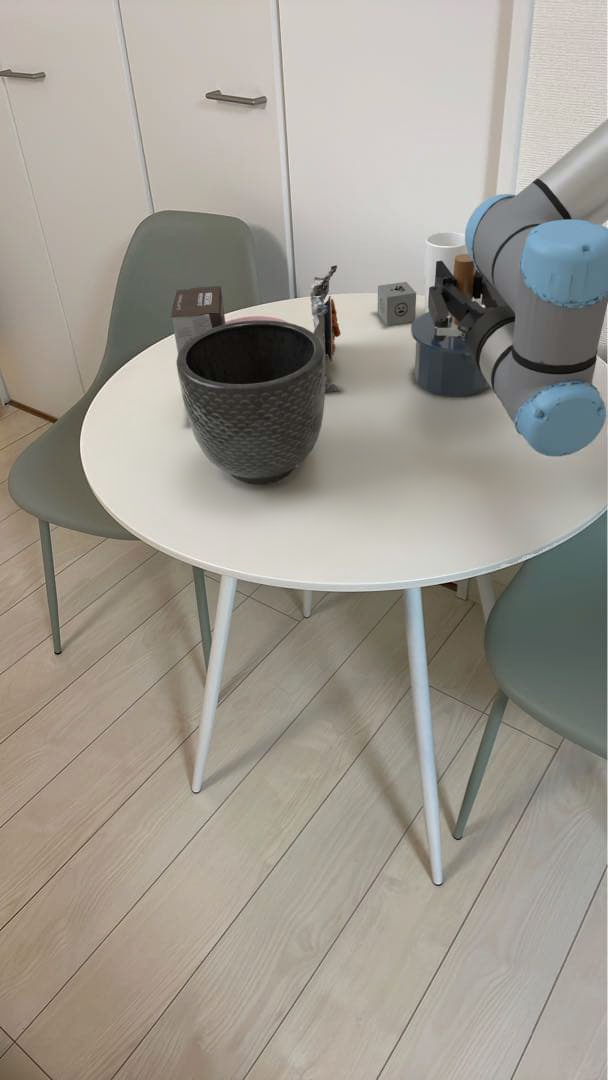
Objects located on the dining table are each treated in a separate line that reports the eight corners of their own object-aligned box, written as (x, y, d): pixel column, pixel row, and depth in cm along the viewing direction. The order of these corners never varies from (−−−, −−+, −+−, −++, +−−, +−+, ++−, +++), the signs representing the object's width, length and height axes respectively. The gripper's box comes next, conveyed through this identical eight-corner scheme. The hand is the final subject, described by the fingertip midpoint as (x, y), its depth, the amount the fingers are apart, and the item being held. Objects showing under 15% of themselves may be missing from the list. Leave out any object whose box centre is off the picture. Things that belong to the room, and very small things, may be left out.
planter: (186, 443, 102) (165, 333, 92) (307, 418, 105) (301, 309, 95) (209, 518, 90) (188, 400, 79) (346, 488, 93) (344, 371, 82)
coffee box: (234, 421, 106) (220, 312, 95) (189, 425, 106) (170, 317, 95) (234, 389, 113) (221, 284, 102) (191, 392, 113) (174, 288, 102)
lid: (490, 310, 102) (499, 235, 96) (522, 351, 93) (534, 271, 86) (401, 320, 102) (403, 245, 95) (424, 363, 92) (428, 282, 86)
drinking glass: (441, 345, 120) (448, 250, 110) (411, 332, 124) (415, 239, 114) (470, 331, 123) (480, 238, 113) (440, 319, 127) (446, 228, 117)
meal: (343, 391, 110) (341, 306, 102) (314, 393, 111) (310, 307, 102) (339, 345, 122) (337, 264, 113) (312, 346, 122) (309, 266, 113)
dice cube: (415, 321, 127) (416, 292, 124) (386, 326, 126) (387, 297, 123) (405, 309, 131) (406, 281, 127) (377, 314, 130) (377, 285, 127)
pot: (474, 347, 119) (480, 295, 113) (509, 401, 106) (517, 345, 100) (403, 355, 118) (405, 303, 112) (430, 410, 105) (433, 354, 100)
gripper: (437, 392, 81) (390, 304, 99) (577, 375, 82) (506, 291, 100) (442, 327, 77) (392, 246, 94) (590, 310, 78) (513, 234, 95)
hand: (451, 270), depth 97 cm, fingers closed on lid, 3 cm apart
